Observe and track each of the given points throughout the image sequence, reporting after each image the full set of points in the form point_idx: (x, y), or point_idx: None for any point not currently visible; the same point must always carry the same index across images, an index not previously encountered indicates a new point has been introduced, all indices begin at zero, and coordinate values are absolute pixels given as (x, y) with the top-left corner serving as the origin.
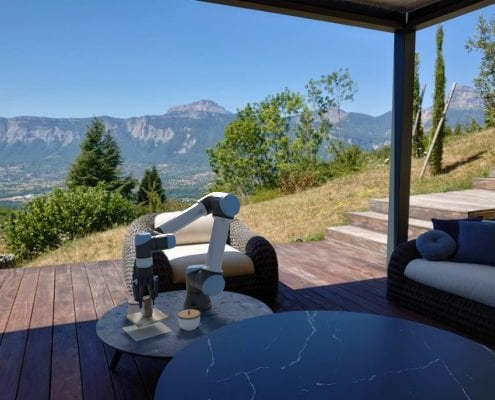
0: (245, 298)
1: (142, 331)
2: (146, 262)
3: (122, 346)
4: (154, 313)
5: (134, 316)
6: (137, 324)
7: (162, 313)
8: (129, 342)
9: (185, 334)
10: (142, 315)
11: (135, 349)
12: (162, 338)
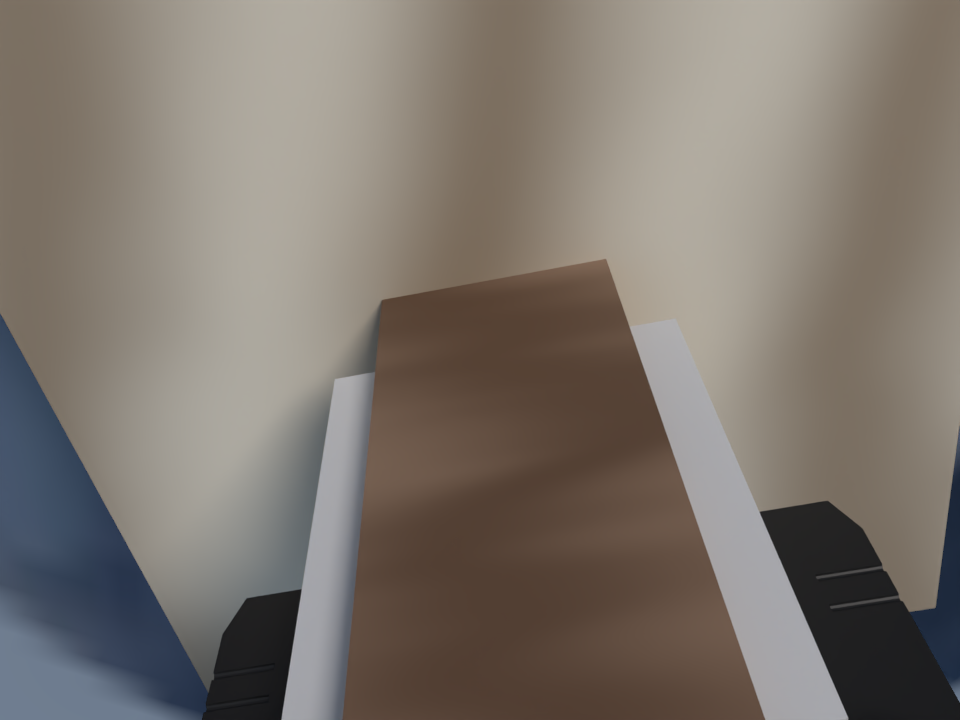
0: None
1: None
2: None
3: (11, 595)
4: (758, 280)
5: (136, 220)
6: (208, 679)
7: (941, 375)
8: (113, 524)
9: (952, 577)
10: (382, 318)
11: (201, 708)
12: None
